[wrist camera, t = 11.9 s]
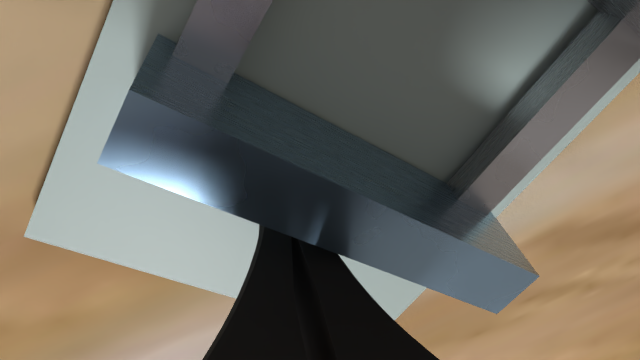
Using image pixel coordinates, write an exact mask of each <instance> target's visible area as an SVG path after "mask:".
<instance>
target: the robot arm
mask: <svg viewBox="0 0 640 360" xmlns="http://www.w3.org/2000/svg"><path fill="white" fill-rule="evenodd" d="M203 360H439V359H438V358H437V357H435V356H434V355H433V354H432V353H430V352H429V351H428V350H427V349H426V348H425V347H423V346H422V345H421V344H420V343H419V342H418V341H416V340H415V339H414V338H413V337H412V336H410V335H409V334H408V333H407V332H406V331H405V330H404V329H403V328H402V327H401V326H400V325H398V324H397V323H396V322H395V321H394V320H393V319H392V318H391V317H390V316H389V315H388V314H387V313H386V312H385V311H384V310H383V309H382V307H381V306H380V305H379V304H378V303H377V302H376V301H375V300H374V299H373V298H372V296H371V295H370V294H369V293H368V292H367V291H366V289H365V288H364V287H363V286H362V285H361V284H360V282H359V281H358V280H357V279H356V277H355V276H354V275H353V274H352V272H351V271H350V270H349V268H348V267H347V265H346V264H345V263H344V261H343V260H342V259H341V257H340V256H339V255H338V254H336V253H334V252H331V251H328V250H326V249H323V248H320V247H318V246H315V245H313V244H310V243H307V242H305V241H302V240H299V239H297V238H294V237H291V236H289V235H286V234H283V233H281V232H278V231H275V230H273V229H270V228H267V227H265V226H262V225H259V236H258V241H257V245H256V249H255V252H254V255H253V258H252V261H251V264H250V267H249V270H248V273H247V275H246V278H245V280H244V283H243V285H242V287H241V290H240V292H239V294H238V297H237V299H236V301H235V303H234V305H233V307H232V309H231V311H230V313H229V315H228V317H227V319H226V321H225V323H224V324H223V326H222V328H221V330H220V331H219V333H218V335H217V337H216V338H215V340H214V342H213V343H212V345H211V347H210V348H209V350H208V352H207V353H206V355H205V356H204V358H203Z"/></svg>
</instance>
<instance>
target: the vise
mask: <svg viewBox="0 0 640 360" xmlns="http://www.w3.org/2000/svg"><path fill="white" fill-rule="evenodd" d="M195 3H196V0H113V3H112V5H111V8H110V11H109V13H108V16H107V18H106V21H105V24H104V26H103V29H102V32H101V34H100V37H99V40H98V42H97V45H96V47H95V50H94V53H93V55H92V58H91V61H90V63H89V66H88V69H87V71H86V74H85V76H84V79H83V82H82V84H81V87H80V90H79V92H78V95H77V98H76V100H75V103H74V105H73V108H72V111H71V113H70V116H69V119H68V121H67V124H66V127H65V129H64V132H63V134H62V137H61V140H60V142H59V145H58V148H57V150H56V153H55V156H54V158H53V161H52V163H51V166H50V169H49V171H48V174H47V177H46V179H45V182H44V185H43V187H42V190H41V193H40V195H39V198H38V200H37V203H36V206H35V208H34V211H33V214H32V216H31V219H30V222H29V224H28V227H27V229H26V232H25V235H24V237H27V238H31V239H34V240H37V241H41V242H44V243H48V244H51V245H54V246H58V247H61V248H65V249H68V250H72V251H75V252H78V253H82V254H85V255H89V256H92V257H96V258H99V259H102V260H106V261H109V262H113V263H116V264H119V265H123V266H126V267H130V268H133V269H137V270H140V271H143V272H147V273H150V274H154V275H157V276H160V277H164V278H167V279H171V280H174V281H178V282H181V283H184V284H188V285H191V286H195V287H198V288H202V289H205V290H208V291H212V292H215V293H219V294H222V295H225V296H229V297H232V298H236V299H237V297H238V294H239V292H240V290H241V287H242V285H243V283H244V280H245V278H246V275H247V273H248V270H249V267H250V264H251V261H252V258H253V255H254V252H255V249H256V245H257V241H258V236H259V224H257V223H254V222H251V221H249V220H246V219H243V218H241V217H238V216H235V215H233V214H230V213H227V212H225V211H222V210H220V209H217V208H214V207H212V206H209V205H206V204H204V203H201V202H198V201H196V200H193V199H190V198H188V197H185V196H182V195H180V194H177V193H174V192H172V191H169V190H166V189H164V188H161V187H158V186H156V185H153V184H150V183H148V182H145V181H142V180H140V179H137V178H134V177H132V176H129V175H127V174H124V173H121V172H119V171H116V170H113V169H111V168H108V167H105V166H103V165H100V164H97V162H98V160H99V158H100V155H101V153H102V151H103V148H104V146H105V144H106V141H107V139H108V137H109V135H110V132H111V130H112V128H113V125H114V123H115V121H116V118H117V116H118V114H119V112H120V109H121V107H122V105H123V102H124V100H125V98H126V95H127V93H128V91H129V89H130V87H131V85H132V83H133V81H134V79H135V77H136V75H137V73H138V71H139V69H140V68H141V66H142V64H143V62H144V60H145V58H146V56H147V54H148V52H149V50H150V48H151V46H152V44H153V43H154V41H155V39H156V37H157V35H158V33H159V34H161V35H163V36H165V37H166V38H168V39H170V40H172V41H174V42H176V43H177V41H178V39H179V37H180V35H181V33H182V31H183V28H184V26H185V24H186V22H187V20H188V18H189V15H190V13H191V11H192V9H193V7H194V5H195ZM597 12H598V10H597V9H596V8H595V7H594V6H593V5H592V4H590V3H589V2H588V1H587V0H273V1H272V3H271V5H270V6H269V8H268V10H267V12H266V14H265V16H264V18H263V19H262V21H261V23H260V25H259V27H258V29H257V30H256V32H255V34H254V36H253V38H252V40H251V42H250V43H249V45H248V47H247V49H246V51H245V53H244V54H243V56H242V58H241V60H240V62H239V64H238V66H237V67H236V69H235V71H234V73H236V74H238V75H240V76H241V77H243V78H245V79H247V80H249V81H251V82H253V83H255V84H257V85H259V86H261V87H263V88H265V89H266V90H268V91H270V92H272V93H274V94H276V95H278V96H280V97H282V98H284V99H286V100H288V101H289V102H291V103H293V104H295V105H297V106H299V107H301V108H303V109H305V110H307V111H309V112H311V113H313V114H314V115H316V116H318V117H320V118H322V119H324V120H326V121H328V122H330V123H332V124H334V125H336V126H338V127H339V128H341V129H343V130H345V131H347V132H349V133H351V134H353V135H355V136H357V137H359V138H361V139H363V140H364V141H366V142H368V143H370V144H372V145H374V146H376V147H378V148H380V149H382V150H384V151H386V152H388V153H389V154H391V155H393V156H395V157H397V158H399V159H401V160H403V161H405V162H407V163H409V164H411V165H412V166H414V167H416V168H418V169H420V170H422V171H424V172H426V173H428V174H430V175H432V176H434V177H436V178H437V179H439V180H441V181H443V182H445V183H447V182H448V181H449V180H450V178H451V177H452V176H453V175H454V174H455V173H456V172H457V171H458V169H459V168H460V167H461V166H462V165H463V164H464V163H465V161H466V160H467V159H468V158H469V157H470V156H471V155H472V154H473V152H474V151H475V150H476V149H477V148H478V147H479V146H480V144H481V143H482V142H483V141H484V140H485V139H486V138H487V137H488V135H489V134H490V133H491V132H492V131H493V130H494V129H495V128H496V126H497V125H498V124H499V123H500V122H501V121H502V120H503V118H504V117H505V116H506V115H507V114H508V113H509V112H510V111H511V109H512V108H513V107H514V106H515V105H516V104H517V103H518V101H519V100H520V99H521V98H522V97H523V96H524V95H525V94H526V92H527V91H528V90H529V89H530V88H531V87H532V86H533V84H534V83H535V82H536V81H537V80H538V79H539V78H540V77H541V75H542V74H543V73H544V72H545V71H546V70H547V69H548V67H549V66H550V65H551V64H552V63H553V62H554V61H555V60H556V58H557V57H558V56H559V55H560V54H561V53H562V52H563V51H564V49H565V48H566V47H567V46H568V45H569V44H570V43H571V41H572V40H573V39H574V38H575V37H576V36H577V35H578V34H579V32H580V31H581V30H582V29H583V28H584V27H585V26H586V24H587V23H588V22H589V21H590V20H591V19H592V18H593V17H594V15H595V14H596V13H597ZM639 73H640V59H639V60H638V61H637V62H636V63H635V64H634V65H633V66H632V67H631V68H630V69H629V70H628V71H627V72H626V73H625V74H624V75H623V76H622V77H621V78H620V79H619V80H618V81H617V83H616V84H615V85H614V86H613V87H612V88H611V89H610V90H609V91H608V92H607V93H606V94H605V95H604V96H603V97H602V98H601V99H600V100H599V101H598V102H597V103H596V104H595V105H594V106H593V107H592V108H591V109H590V110H589V111H588V112H587V113H586V114H585V115H584V116H583V117H582V118H581V119H580V121H579V122H578V123H577V124H576V125H575V126H574V127H573V128H572V129H571V130H570V131H569V132H568V133H567V134H566V135H565V136H564V137H563V138H562V139H561V140H560V141H559V142H558V143H557V144H556V145H555V146H554V147H553V148H552V149H551V150H550V151H549V152H548V153H547V154H546V155H545V156H544V157H543V159H542V160H541V161H540V162H539V163H538V164H537V165H536V166H535V167H534V168H533V169H532V170H531V171H530V172H529V173H528V174H527V175H526V176H525V177H524V178H523V179H522V180H521V181H520V182H519V183H518V184H517V185H516V186H515V187H514V188H513V189H512V190H511V191H510V192H509V193H508V194H507V195H506V197H505V198H504V199H503V200H502V201H501V202H500V203H499V204H498V205H497V206H496V207H495V208H494V209H493V210H492V211H491V212H492V214H493V215H494V216H495V218H496V217H497V216H498V215H499V214H500V213H501V212H502V211H503V210H504V209H505V208H506V207H507V206H508V205H509V204H510V203H511V202H512V201H513V200H514V199H515V198H516V197H517V196H518V195H519V194H520V193H521V192H522V191H523V190H524V189H525V188H526V187H527V186H528V185H529V184H530V183H531V182H532V181H533V180H534V179H535V178H536V177H537V176H538V175H539V174H540V173H541V172H542V171H543V170H544V169H545V168H546V167H547V166H548V165H549V164H550V163H551V162H552V161H553V160H554V159H555V158H556V156H557V155H558V154H559V153H560V152H561V151H562V150H563V149H564V148H565V147H566V146H567V145H568V144H569V143H570V142H571V141H572V140H573V139H574V138H575V137H576V136H577V135H578V134H579V133H580V132H581V131H582V130H583V129H584V128H585V127H586V126H587V125H588V124H589V123H590V122H591V121H592V120H593V119H594V118H595V117H596V116H597V115H598V114H599V113H600V112H601V111H602V110H603V109H604V108H605V107H606V106H607V105H608V104H609V103H610V102H611V101H612V100H613V99H614V98H615V97H616V96H617V95H618V94H619V93H620V92H621V91H622V90H623V89H624V88H625V87H626V86H627V85H628V84H629V83H630V82H631V81H632V80H633V79H634V78H635V77H636V76H637V75H638V74H639ZM338 255H339V254H338ZM339 256H340V257H341V259H342V260H343V261H344V263H345V264H346V265H347V267H348V268H349V270H350V271H351V272H352V274H353V275H354V276H355V277H356V279H357V280H358V281H359V282H360V284H361V285H362V286H363V287H364V288H365V289H366V291H367V292H368V293H369V294H370V295H371V296H372V298H373V299H374V300H375V301H376V302H377V303H378V304H379V305H380V306H381V307H382V309H383V310H384V311H385V312H386V313H387V314H388V315H389V316H390V317H391V318H392V319H393V320H395V319H396V318H397V317H398V316H399V315H400V314H401V313H402V312H403V311H404V310H405V309H406V308H407V307H408V306H409V305H410V304H411V303H412V302H413V301H414V300H415V299H416V298H417V297H418V296H419V295H420V294H421V293H422V292H423V291H424V290H425V289H426V288H427V287H424V286H421V285H419V284H416V283H413V282H411V281H408V280H405V279H403V278H400V277H398V276H395V275H392V274H390V273H387V272H384V271H382V270H379V269H376V268H374V267H371V266H368V265H366V264H363V263H360V262H358V261H355V260H352V259H350V258H347V257H344V256H342V255H339Z"/></svg>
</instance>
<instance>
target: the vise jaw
mask: <svg viewBox="0 0 640 360" xmlns="http://www.w3.org/2000/svg"><path fill="white" fill-rule="evenodd" d="M272 1H273V0H196V3H195V5H194V7H193V9H192V11H191V13H190V15H189V18H188V20H187V22H186V24H185V26H184V28H183V31H182V33H181V35H180V37H179V39H178V41H177V43H176V42H174V41H172V40H170V39H168V38H166V37H165V36H163V35H161V34H159V33H158V35H157V37H156V39H155V41H154V43H153V44H152V46H151V48H150V50H149V52H148V54H147V56H146V58H145V60H144V62H143V64H142V66H141V68H140V69H139V71H138V73H137V75H136V77H135V79H134V81H133V83H132V85H131V87H130V89H129V91H128V93H127V95H126V98H125V100H124V102H123V105H122V107H121V109H120V112H119V114H118V116H117V118H116V121H115V123H114V125H113V128H112V130H111V132H110V135H109V137H108V139H107V141H106V144H105V146H104V148H103V151H102V153H101V155H100V158H99V160H98V162H97V164H100V165H103V166H105V167H108V168H111V169H113V170H116V171H119V172H121V173H124V174H127V175H129V176H132V177H134V178H137V179H140V180H142V181H145V182H148V183H150V184H153V185H156V186H158V187H161V188H164V189H166V190H169V191H172V192H174V193H177V194H180V195H182V196H185V197H188V198H190V199H193V200H196V201H198V202H201V203H204V204H206V205H209V206H212V207H214V208H217V209H220V210H222V211H225V212H227V213H230V214H233V215H235V216H238V217H241V218H243V219H246V220H249V221H251V222H254V223H257V224H259V225H262V226H265V227H267V228H270V229H273V230H275V231H278V232H281V233H283V234H286V235H289V236H291V237H294V238H297V239H299V240H302V241H305V242H307V243H310V244H313V245H315V246H318V247H320V248H323V249H326V250H328V251H331V252H334V253H336V254H339V255H342V256H344V257H347V258H350V259H352V260H355V261H358V262H360V263H363V264H366V265H368V266H371V267H374V268H376V269H379V270H382V271H384V272H387V273H390V274H392V275H395V276H398V277H400V278H403V279H405V280H408V281H411V282H413V283H416V284H419V285H421V286H424V287H427V288H429V289H432V290H435V291H437V292H440V293H443V294H445V295H448V296H451V297H453V298H456V299H459V300H461V301H464V302H467V303H469V304H472V305H475V306H477V307H480V308H483V309H485V310H488V311H491V312H493V313H496V314H497V313H499V312H500V311H501V310H502V309H503V308H504V307H505V306H507V305H508V304H509V303H510V302H511V301H512V300H513V299H514V298H516V297H517V296H518V295H519V294H520V293H521V292H522V291H524V290H525V289H526V288H527V287H528V286H529V285H530V284H531V283H533V282H534V281H535V280H536V279H537V278H538V277H539V275H538V274H537V272H536V271H535V270H534V268H533V267H532V266H531V264H530V263H529V262H528V260H527V259H526V258H525V256H524V255H523V254H522V252H521V251H520V250H519V248H518V247H517V246H516V244H515V243H514V242H513V240H512V239H511V238H510V236H509V235H508V234H507V232H506V231H505V230H504V228H503V227H502V226H501V224H500V223H499V222H498V220H497V219H496V218H495V216H494V215H493V214H492V212H491V211H492V210H493V209H494V208H495V207H496V206H497V205H498V204H499V203H500V202H501V201H502V200H503V199H504V198H505V197H506V195H507V194H508V193H509V192H510V191H511V190H512V189H513V188H514V187H515V186H516V185H517V184H518V183H519V182H520V181H521V180H522V179H523V178H524V177H525V176H526V175H527V174H528V173H529V172H530V171H531V170H532V169H533V168H534V167H535V166H536V165H537V164H538V163H539V162H540V161H541V160H542V159H543V157H544V156H545V155H546V154H547V153H548V152H549V151H550V150H551V149H552V148H553V147H554V146H555V145H556V144H557V143H558V142H559V141H560V140H561V139H562V138H563V137H564V136H565V135H566V134H567V133H568V132H569V131H570V130H571V129H572V128H573V127H574V126H575V125H576V124H577V123H578V122H579V121H580V119H581V118H582V117H583V116H584V115H585V114H586V113H587V112H588V111H589V110H590V109H591V108H592V107H593V106H594V105H595V104H596V103H597V102H598V101H599V100H600V99H601V98H602V97H603V96H604V95H605V94H606V93H607V92H608V91H609V90H610V89H611V88H612V87H613V86H614V85H615V84H616V83H617V81H618V80H619V79H620V78H621V77H622V76H623V75H624V74H625V73H626V72H627V71H628V70H629V69H630V68H631V67H632V66H633V65H634V64H635V63H636V62H637V61H638V60H639V59H640V0H587V1H588V2H589V3H590V4H592V5H593V6H594V7H595V8H596V9H597V10H598V12H597V13H596V14H595V15H594V17H593V18H592V19H591V20H590V21H589V22H588V23H587V24H586V26H585V27H584V28H583V29H582V30H581V31H580V32H579V34H578V35H577V36H576V37H575V38H574V39H573V40H572V41H571V43H570V44H569V45H568V46H567V47H566V48H565V49H564V51H563V52H562V53H561V54H560V55H559V56H558V57H557V58H556V60H555V61H554V62H553V63H552V64H551V65H550V66H549V67H548V69H547V70H546V71H545V72H544V73H543V74H542V75H541V77H540V78H539V79H538V80H537V81H536V82H535V83H534V84H533V86H532V87H531V88H530V89H529V90H528V91H527V92H526V94H525V95H524V96H523V97H522V98H521V99H520V100H519V101H518V103H517V104H516V105H515V106H514V107H513V108H512V109H511V111H510V112H509V113H508V114H507V115H506V116H505V117H504V118H503V120H502V121H501V122H500V123H499V124H498V125H497V126H496V128H495V129H494V130H493V131H492V132H491V133H490V134H489V135H488V137H487V138H486V139H485V140H484V141H483V142H482V143H481V144H480V146H479V147H478V148H477V149H476V150H475V151H474V152H473V154H472V155H471V156H470V157H469V158H468V159H467V160H466V161H465V163H464V164H463V165H462V166H461V167H460V168H459V169H458V171H457V172H456V173H455V174H454V175H453V176H452V177H451V178H450V180H449V181H448V182H447V183H445V182H443V181H441V180H439V179H437V178H436V177H434V176H432V175H430V174H428V173H426V172H424V171H422V170H420V169H418V168H416V167H414V166H412V165H411V164H409V163H407V162H405V161H403V160H401V159H399V158H397V157H395V156H393V155H391V154H389V153H388V152H386V151H384V150H382V149H380V148H378V147H376V146H374V145H372V144H370V143H368V142H366V141H364V140H363V139H361V138H359V137H357V136H355V135H353V134H351V133H349V132H347V131H345V130H343V129H341V128H339V127H338V126H336V125H334V124H332V123H330V122H328V121H326V120H324V119H322V118H320V117H318V116H316V115H314V114H313V113H311V112H309V111H307V110H305V109H303V108H301V107H299V106H297V105H295V104H293V103H291V102H289V101H288V100H286V99H284V98H282V97H280V96H278V95H276V94H274V93H272V92H270V91H268V90H266V89H265V88H263V87H261V86H259V85H257V84H255V83H253V82H251V81H249V80H247V79H245V78H243V77H241V76H240V75H238V74H236V73H234V71H235V69H236V67H237V66H238V64H239V62H240V60H241V58H242V56H243V54H244V53H245V51H246V49H247V47H248V45H249V43H250V42H251V40H252V38H253V36H254V34H255V32H256V30H257V29H258V27H259V25H260V23H261V21H262V19H263V18H264V16H265V14H266V12H267V10H268V8H269V6H270V5H271V3H272Z"/></svg>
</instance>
